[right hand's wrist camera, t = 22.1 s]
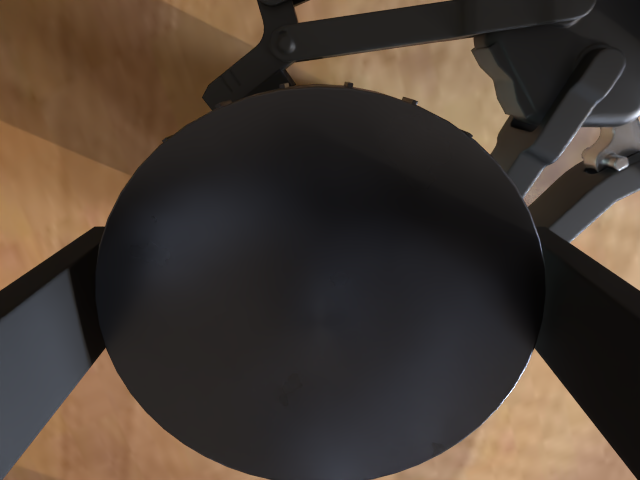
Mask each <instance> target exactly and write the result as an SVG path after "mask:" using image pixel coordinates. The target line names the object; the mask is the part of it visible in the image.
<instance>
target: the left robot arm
mask: <svg viewBox="0 0 640 480" xmlns="http://www.w3.org/2000/svg"><path fill="white" fill-rule="evenodd" d="M307 1H309V0H257V2H258V5H259V9H260V12H261V16H262V19H263V24H264V34H263V37H262V39H261V41H260V43H259V44H258V45H257V46H256V47H255V48H254V49H252V50H251V51H250V52H249V53H247V54H246V55H245V56H244V57H243V58H241V59H240V60H239V61H238V62H236V63H235V64H234V65H233V66H231V67H230V68H229V69H228V70H227V71H225V72H224V73H223V74H222V75H221V76H219V77H218V78H217V79H215V80H214V81H213V82H212V83H211V84H209V85H208V87H207V89H206V91H205V93H204V95H203V97H202V98H203V99H204V101H205V102H206V103H207V104H208V106H209V107H210V108H211V110H214V109H217V108H216V106H215V105H216V104H218V103H221V102H225V101H228V100H231V101H232V102H235V101H238V100H240V99H243V98H245V97H248V96H251V95H254V94H258V93H262V92H266V91H271V90H275V89H279V88H280V86H279V85H280V84H284V83H289V87H290V86H295V85H296V84H295V82H294V81H293V80H292V78H291V77H290V75H289V74H288V72H287V71H286V69H287V68H288V67H289V66H290V65H292V64H293V63H295V62H302V61H309V60H316V59H323V58H330V57H337V56H344V55H350V54H357V53H364V52H371V51H378V50H385V49H392V48H399V47H406V46H413V45H420V44H427V43H434V42H442V41H450V40H457V39H464V38H471V37H474V46H475V48H474V49H472V50H471V51H472V53H473V55H474V57H475V59H476V61H477V62H478V64H479V66H480V67H481V68H482V69H483V70H484V71H485V72H486V73H487V74H488V75H489V76H490V77H491V78H492V79H493V82H494V86H495V91H496V95H497V99H498V101H499V103H500V105H501V107H502V108H503V110H504V112H505V114H508V115H510V116H509V118H508V119H507V121H506V122H505V124H504V126H503V127H502V129H501V130H500V132H499V134H498V137H497V145H496V146H495V148H494V150H493V151H492V153H491V154H490V155H491V156H492V157H493V158H494V159H495V160H496V161H497V162H498V163H499V164H500V166H501V167H502V168H503V170H504V171H505V172H506V174H507V175H508V176H509V178H511V180H512V182H513V183H514V184H515V185H516V187H517V189H518V191H519V192H520V194H521V196H522V198H524V197H525V195H526V194H527V192H528V191H529V189H530V188H531V186H532V185H533V183H534V182H535V181H536V179H537V178H538V176H539V175H540V173H541V172H542V170H543V169H544V168H545V167H546V166H547V165H550V164H552V163H554V162H555V161H556V160H557V159H558V158H559V157H560V156H561V154H562V153H563V152H564V150H565V149H566V147H567V146H568V144H569V143H570V141H571V140H572V139H573V137H574V136H575V134H576V133H577V131H578V130H579V128H580V127H600V129H601V131H600V136H599V138H598V140H597V141H596V142H595V143H594V144H593V145H592V146H591V147H589V148H586V149H584V151H583V152H582V158H583V160H584V161H582V162H580V163H579V164H577V165H575V166H574V167H572V168H571V169H569V170H568V171H567V172H565V173H564V174H563V175H562V176H561V177H560V178H558V179H557V180H556V181H555V182H554V183H553V184H552V185H551V186H550V187H549V188H548V189H547V190H546V191H545V192H544V193H543V194H541V195H540V196H539V197H538V198H537V199H536V200H535V201H534V202H533V203H532V204H531V205H530V206H529V207H528V209H529V211H530V213H531V216H532V219H533V221H534V224H535V227H547V228H548V229H549V230H551V231H552V232H554V233H555V234H557V235H558V236H560V237H561V238H563V239H564V240H566V241H567V242H569V243H570V242H571V241H572V240H573V239H574V238H576V237H577V236H578V235H579V234H580V233H581V232H582V231H583V230H585V229H586V228H587V227H588V226H589V225H590V224H591V223H592V222H594V221H595V220H596V219H597V218H598V217H599V216H600V215H601V214H603V213H604V212H605V211H606V210H607V209H608V208H609V207H610V206H612V205H613V204H614V203H615V202H616V201H618V200H620V199H623V198H625V197H627V196H629V195H631V194H633V193H635V192H637V191H639V190H640V123H639V120H638V117H639V116H640V0H451V1H444V2H437V3H431V4H424V5H417V6H410V7H404V8H397V9H390V10H383V11H377V12H370V13H363V14H356V15H350V16H343V17H336V18H329V19H323V20H316V21H309V22H302V23H298V20H297V16H296V12H295V9H294V7H295V6H298V5H300V4H302V3H305V2H307Z"/></svg>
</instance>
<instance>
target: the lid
mask: <svg viewBox="0 0 640 480" xmlns="http://www.w3.org/2000/svg"><path fill="white" fill-rule="evenodd" d="M279 86H280V88H279V89H275V90H271V91H266V92H262V93H258V94H254V95H251V96H248V97H245V98H243V99H240V100H238V101H235V102H232V101H231V100H228V101H225V102H221V103H218V104H216V105H215V106H216V108H217V109H214V110H212V111H211V112H209V113H207V114H205V115H204V116H202V117H200V118H198V119H196V120H195V121H193V122H191V123H189V124H187V125H186V126H184V127H183V128H182V129H180V130H179V131H178V132H176V133H175V134H174V135H171V136H169V137H166V138H165V139H164V140H162V141H163V143H162V144H161V145H160V146H159V147H158V148H157V149H156V150H155V151H154V152H153V153H152V154H151V155H150V156H149V157H148V158H147V159H146V160H145V161H144V162H143V163H142V164H141V165H140V166H139V167H138V169H137V170H136V171H135V173H134V174H133V176H132V177H131V179H130V180H129V181H128V183H127V184H126V186H125V187H124V188H123V190H122V191H121V193H120V195H119V197H118V199H117V201H116V203H115V205H114V207H113V209H112V211H111V213H110V215H109V217H108V219H107V222H106V226H105V229H104V232H103V235H102V238H101V242H100V245H99V251H98V257H97V264H96V270H95V301H96V308H97V315H98V321H99V326H100V330H101V333H102V336H103V339H104V343H105V346H106V349H107V351H108V354H109V356H110V358H111V360H112V362H113V364H114V367H115V369H116V371H117V373H118V374H119V376H120V378H121V379H122V381H123V382H124V384H125V385H126V387H127V389H128V390H129V392H130V393H131V394H132V396H133V397H134V398H135V399H136V401H137V402H138V403H139V404H140V405H141V407H142V408H143V409H144V410H145V411H146V413H148V414H149V415H150V416H151V417H152V418H153V419H154V420H155V421H156V422H157V423H158V424H159V425H160V426H161V427H162V428H163V429H164V430H166V431H167V432H168V433H170V434H171V435H172V436H174V437H175V438H176V439H178V440H179V441H180V442H182V443H183V444H184V445H186V446H188V447H190V448H191V449H193V450H195V451H196V452H198V453H200V454H201V455H203V456H205V457H207V458H209V459H211V460H213V461H215V462H218V463H220V464H222V465H224V466H226V467H229V468H232V469H235V470H238V471H241V472H244V473H247V474H249V475H253V476H258V477H262V478H266V479H270V480H371V479H375V478H379V477H383V476H387V475H391V474H394V473H398V472H400V471H403V470H406V469H408V468H411V467H414V466H417V465H419V464H421V463H423V462H425V461H427V460H429V459H431V458H433V457H435V456H437V455H440V454H441V453H443V452H445V451H446V450H448V449H449V448H451V447H453V446H454V445H456V444H457V443H459V442H460V441H462V440H463V439H464V438H466V437H467V436H468V435H470V434H471V433H472V432H473V431H475V430H476V429H477V428H478V427H480V426H481V425H482V424H483V423H484V422H485V421H486V420H487V419H488V418H489V417H490V416H491V415H492V414H493V413H494V412H495V411H496V410H497V409H498V408H499V406H500V405H501V404H502V403H503V401H504V400H505V399H506V397H507V396H508V395H509V394H510V392H511V391H512V390H513V388H514V387H515V385H516V383H517V382H518V380H519V378H520V377H521V375H522V373H523V372H524V370H525V368H526V366H527V364H528V362H529V359H530V357H531V355H532V352H533V350H534V348H535V345H536V342H537V339H538V335H539V331H540V327H541V324H542V320H543V313H544V304H545V296H546V284H545V264H544V259H543V254H542V248H541V243H540V238H539V235H538V233H537V230H536V227H535V224H534V221H533V219H532V216H531V213H530V211H529V209H528V207H527V205H526V204H525V202H524V200H523V198H522V196H521V194H520V192H519V191H518V189H517V187H516V185H515V184H514V183H513V182H512V180H511V178H509V176H508V175H507V174H506V172H505V171H504V170H503V168H502V167H501V166H500V164H499V163H498V162H497V161H496V160H495V159H494V158H493V157H492V156H491V155H490V154H489V153H488V152H487V151H486V150H485V149H484V148H483V147H482V146H480V145H479V144H478V143H477V142H476V141H475V140H474V139H473V138H472V136H473V135H471V134H470V133H468V132H466V131H463V130H461V129H459V128H457V127H456V126H454V125H453V124H452V123H450V122H449V121H447V120H445V119H443V118H441V117H439V116H437V115H435V114H433V113H431V112H429V111H427V110H425V109H424V108H422V107H420V106H417V103H418V101H416V100H413V99H409V98H406V97H403V98H402V100H400V99H397V98H394V97H391V96H388V95H385V94H382V93H379V92H376V91H371V90H366V89H361V88H356V87H353V83H350V82H345V84H344V86H342V85H323V84H313V85H302V86H290V87H289V83H284V84H280V85H279Z"/></svg>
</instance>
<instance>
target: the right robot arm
mask: <svg viewBox="0 0 640 480" xmlns="http://www.w3.org/2000/svg"><path fill="white" fill-rule="evenodd" d="M104 229H105V227H93V228H92V229H91V230H89V231H88V232H86V233H85V234H83V235H82V236H80V237H79V238H77V239H76V240H74V241H73V242H71V243H70V244H68V245H67V246H66V247H64V248H63V249H61V250H60V251H58V252H57V253H55V254H54V255H52V256H51V257H49V258H48V259H46V260H45V261H43V262H42V263H41V264H39V265H38V266H36V267H35V268H33V269H32V270H30V271H29V272H27V273H26V274H24V275H23V276H21V277H20V278H18V279H17V280H16V281H14V282H13V283H11V284H10V285H8V286H7V287H5V288H4V289H2V290H1V291H0V480H3V478H4V477H5V476H6V474H7V473H8V472H9V471H10V469H11V468H12V467H13V466H14V464H15V463H16V462H17V460H18V459H19V458H20V457H21V455H22V454H23V453H24V451H25V450H26V449H27V448H28V446H29V445H30V444H31V443H32V441H33V440H34V439H35V437H36V436H37V435H38V434H39V432H40V431H41V430H42V428H43V427H44V426H45V425H46V423H47V422H48V421H49V419H50V418H51V417H52V416H53V414H54V413H55V412H56V411H57V409H58V408H59V407H60V405H61V404H62V403H63V402H64V400H65V399H66V398H67V396H68V395H69V394H70V393H71V391H72V390H73V389H74V388H75V386H76V385H77V384H78V382H79V381H80V380H81V379H82V377H83V376H84V375H85V373H86V372H87V371H88V370H89V368H90V367H91V366H92V364H93V363H94V362H95V361H96V359H97V358H98V357H99V356H100V354H101V353H102V352H103V350H104V349H105V348H106V346H105V343H104V339H103V336H102V333H101V330H100V326H99V321H98V315H97V308H96V301H95V270H96V264H97V257H98V251H99V245H100V242H101V238H102V235H103V232H104ZM536 230H537V233H538V235H539V238H540V243H541V248H542V254H543V259H544V264H545V284H546V296H545V304H544V313H543V320H542V324H541V327H540V331H539V335H538V339H537V342H536V345H535V349H536V350H537V352H538V353H539V354H540V356H541V357H542V358H543V359H544V361H545V362H546V363H547V364H548V366H549V367H550V368H551V370H552V371H553V372H554V373H555V375H556V376H557V377H558V379H559V380H560V381H561V382H562V384H563V385H564V386H565V388H566V389H567V390H568V391H569V393H570V394H571V395H572V396H573V398H574V399H575V400H576V402H577V403H578V404H579V405H580V407H581V408H582V409H583V411H584V412H585V413H586V414H587V416H588V417H589V418H590V419H591V421H592V422H593V423H594V425H595V426H596V427H597V428H598V430H599V431H600V432H601V434H602V435H603V436H604V437H605V439H606V440H607V441H608V443H609V444H610V445H611V446H612V448H613V449H614V450H615V451H616V453H617V454H618V455H619V457H620V458H621V459H622V460H623V462H624V463H625V464H626V466H627V467H628V468H629V469H630V471H631V472H632V473H633V474H634V476H635V477H636V478H637V480H640V291H639V290H638V289H636V288H635V287H633V286H632V285H630V284H629V283H627V282H626V281H624V280H623V279H622V278H620V277H619V276H617V275H616V274H614V273H613V272H611V271H610V270H608V269H607V268H605V267H604V266H602V265H601V264H599V263H598V262H597V261H595V260H594V259H592V258H591V257H589V256H588V255H586V254H585V253H583V252H582V251H580V250H579V249H577V248H576V247H574V246H573V245H572V244H570V243H569V242H567V241H566V240H564V239H563V238H561V237H560V236H558V235H557V234H555V233H554V232H552V231H551V230H549V229H548V228H547V227H536Z"/></svg>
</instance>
